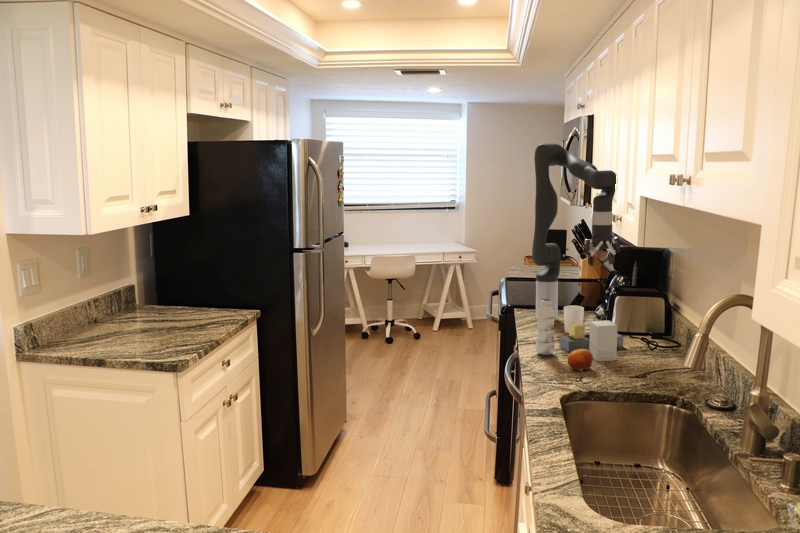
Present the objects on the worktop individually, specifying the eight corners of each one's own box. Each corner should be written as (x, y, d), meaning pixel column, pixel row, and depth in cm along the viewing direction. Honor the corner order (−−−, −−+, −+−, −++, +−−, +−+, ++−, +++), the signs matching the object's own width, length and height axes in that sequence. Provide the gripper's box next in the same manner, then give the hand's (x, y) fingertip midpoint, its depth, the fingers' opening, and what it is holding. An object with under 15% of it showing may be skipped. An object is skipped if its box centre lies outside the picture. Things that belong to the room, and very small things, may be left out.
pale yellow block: (569, 344, 237) (569, 323, 235) (578, 343, 237) (579, 322, 236) (574, 347, 233) (574, 326, 231) (584, 346, 234) (584, 325, 232)
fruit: (583, 371, 206) (575, 347, 208) (568, 377, 212) (560, 354, 215) (602, 367, 209) (593, 344, 212) (587, 373, 216) (579, 350, 218)
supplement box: (617, 360, 220) (618, 325, 218) (596, 361, 220) (596, 326, 217) (608, 354, 227) (609, 319, 225) (588, 355, 227) (589, 320, 225)
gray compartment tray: (559, 347, 237) (559, 336, 237) (612, 341, 242) (612, 331, 242) (568, 352, 231) (568, 341, 230) (623, 346, 236) (623, 336, 235)
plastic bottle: (539, 350, 234) (540, 297, 230) (557, 353, 230) (558, 299, 227) (532, 355, 229) (532, 300, 225) (550, 358, 225) (551, 302, 221)
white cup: (581, 329, 261) (582, 305, 259) (585, 334, 253) (585, 309, 252) (561, 329, 262) (562, 305, 260) (564, 334, 254) (565, 309, 252)
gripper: (613, 221, 249) (612, 262, 252) (580, 223, 246) (579, 264, 249) (624, 223, 242) (623, 265, 245) (590, 225, 239) (589, 267, 242)
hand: (601, 264), depth 247 cm, fingers open, 8 cm apart
